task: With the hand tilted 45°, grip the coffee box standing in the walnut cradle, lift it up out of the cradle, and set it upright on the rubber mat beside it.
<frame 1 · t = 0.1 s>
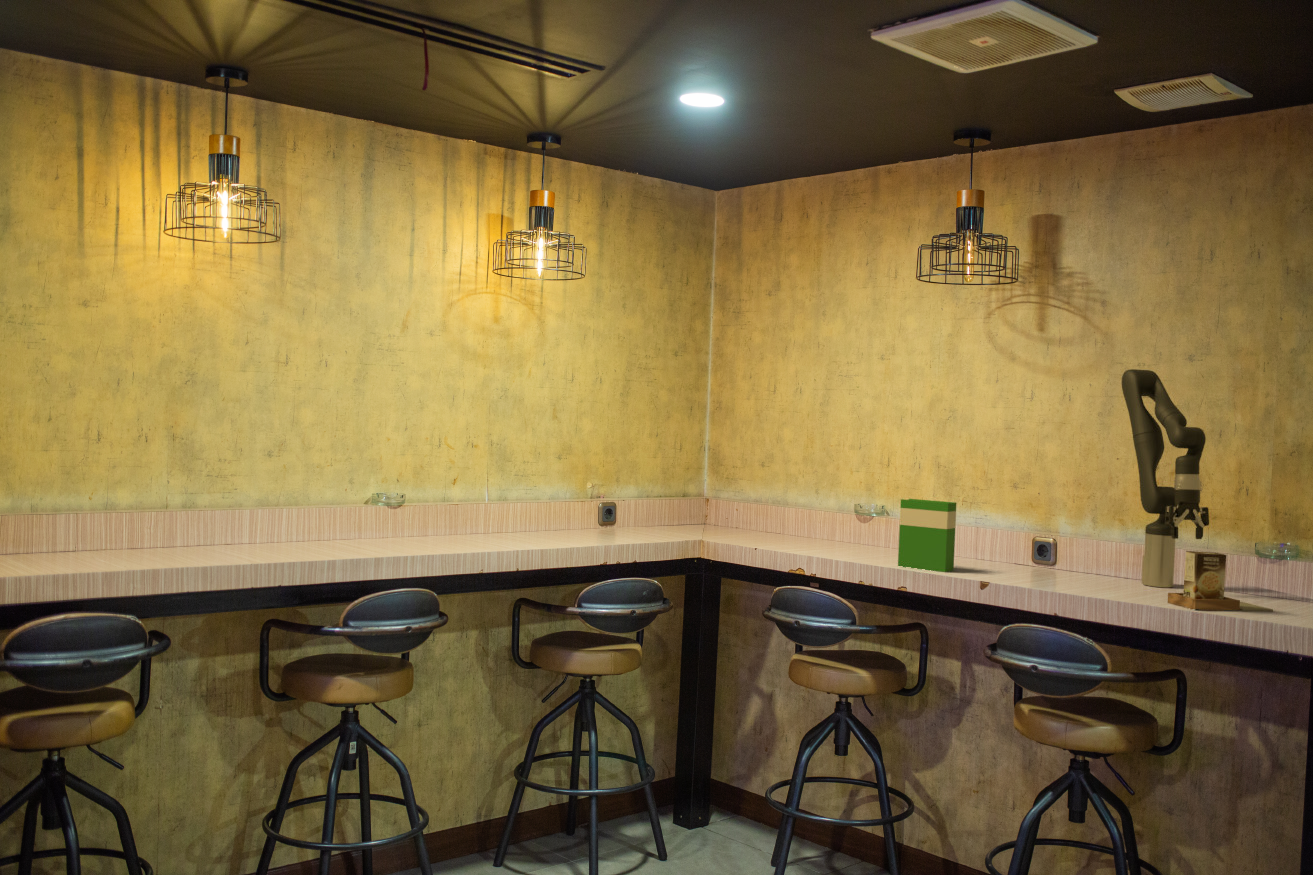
hand: (1186, 538, 345), 17 cm above the table, tool pointing down, fingers open, 8 cm apart
coffee box: (1202, 607, 317), resting in walnut cradle
rubber mat: (1242, 606, 319), on the table
walnut cradle: (1202, 606, 317), on the table
green cereal box: (925, 569, 380), on the table
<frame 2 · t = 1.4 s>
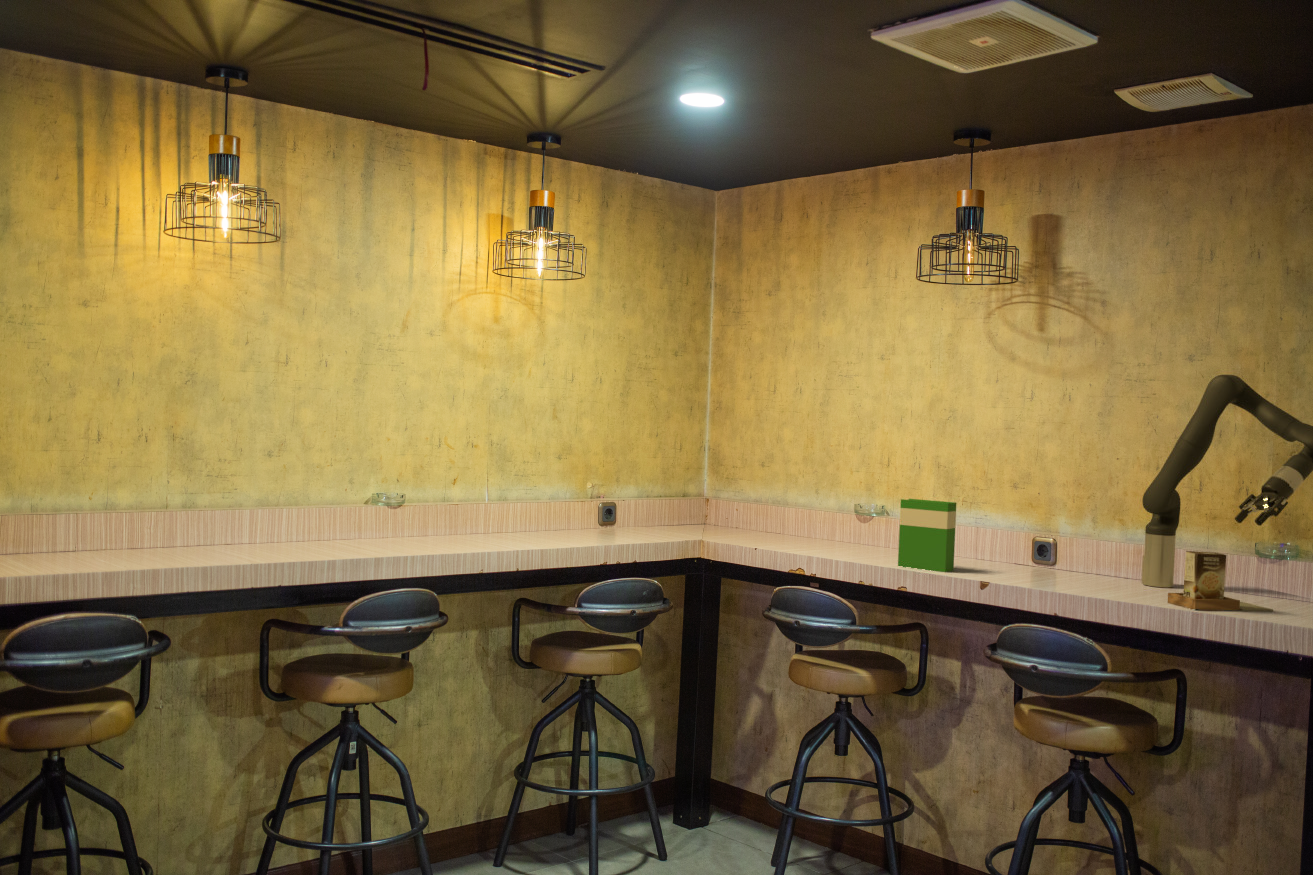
hand: (1247, 522, 319), 25 cm above the table, tool tilted 45°, fingers open, 8 cm apart
nothing on the table moved.
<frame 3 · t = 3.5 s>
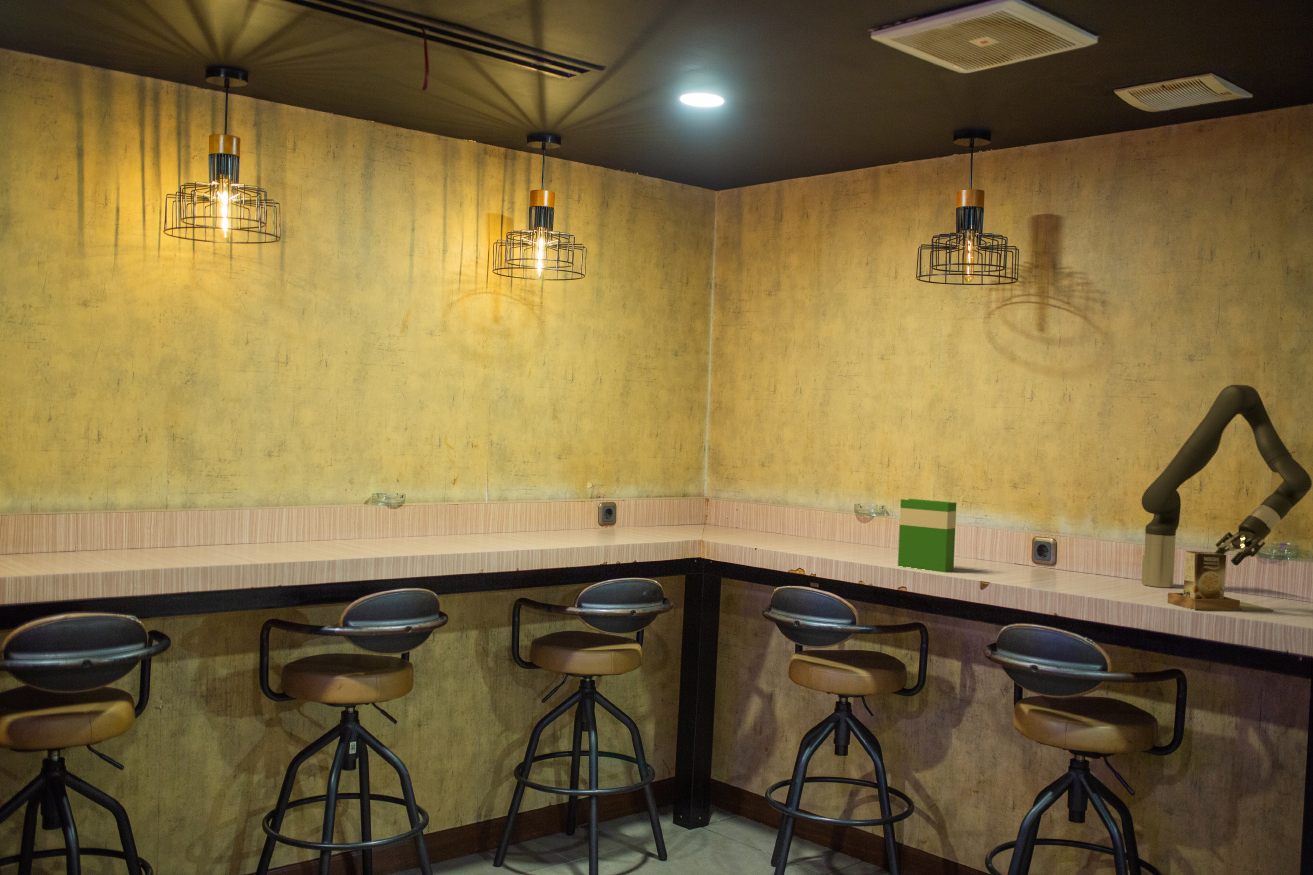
hand: (1223, 561, 317), 14 cm above the table, tool tilted 45°, fingers open, 8 cm apart
nothing on the table moved.
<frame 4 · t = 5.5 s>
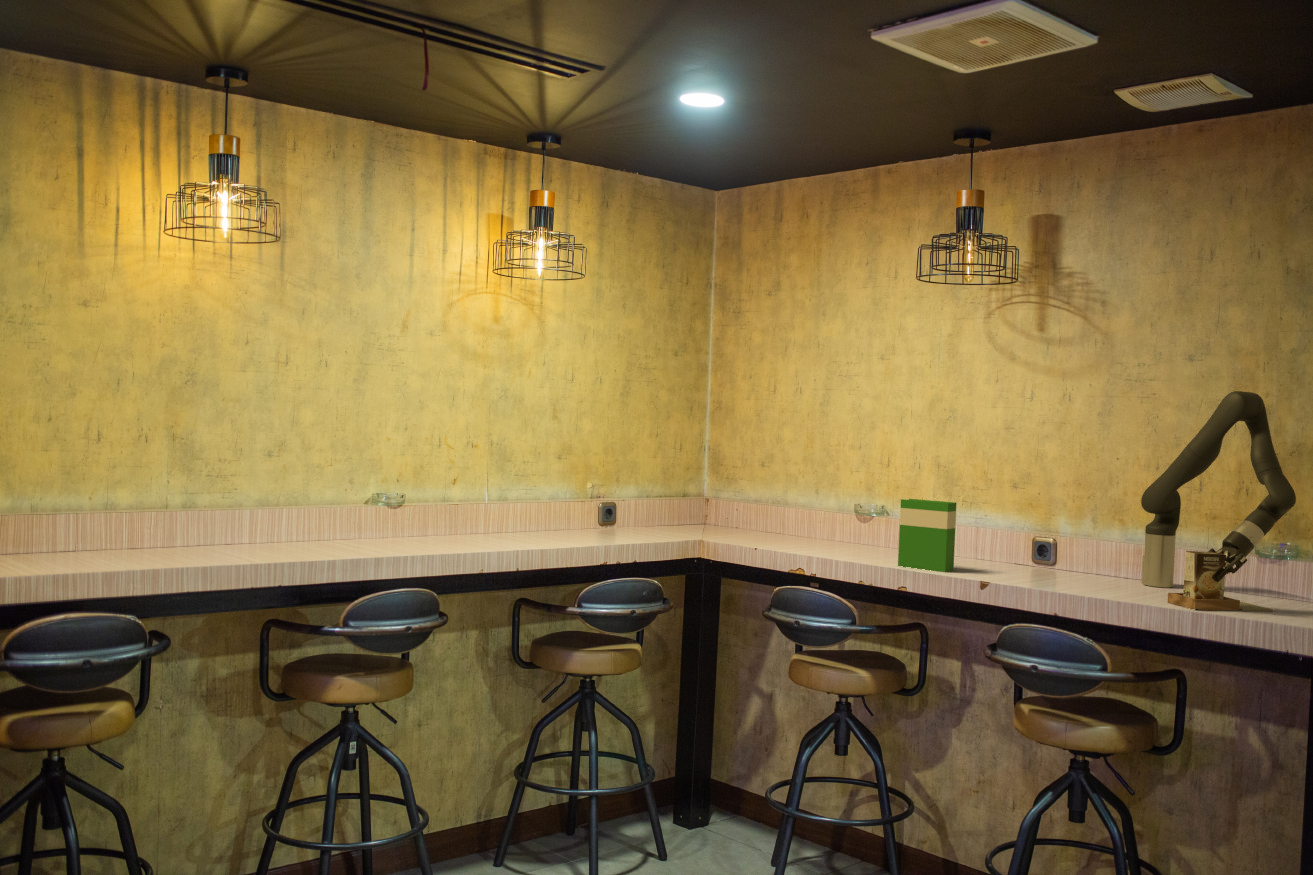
hand: (1206, 577, 317), 9 cm above the table, tool tilted 45°, fingers closed on coffee box, 7 cm apart
coffee box: (1202, 607, 317), resting in walnut cradle, touching gripper
everything else where it was.
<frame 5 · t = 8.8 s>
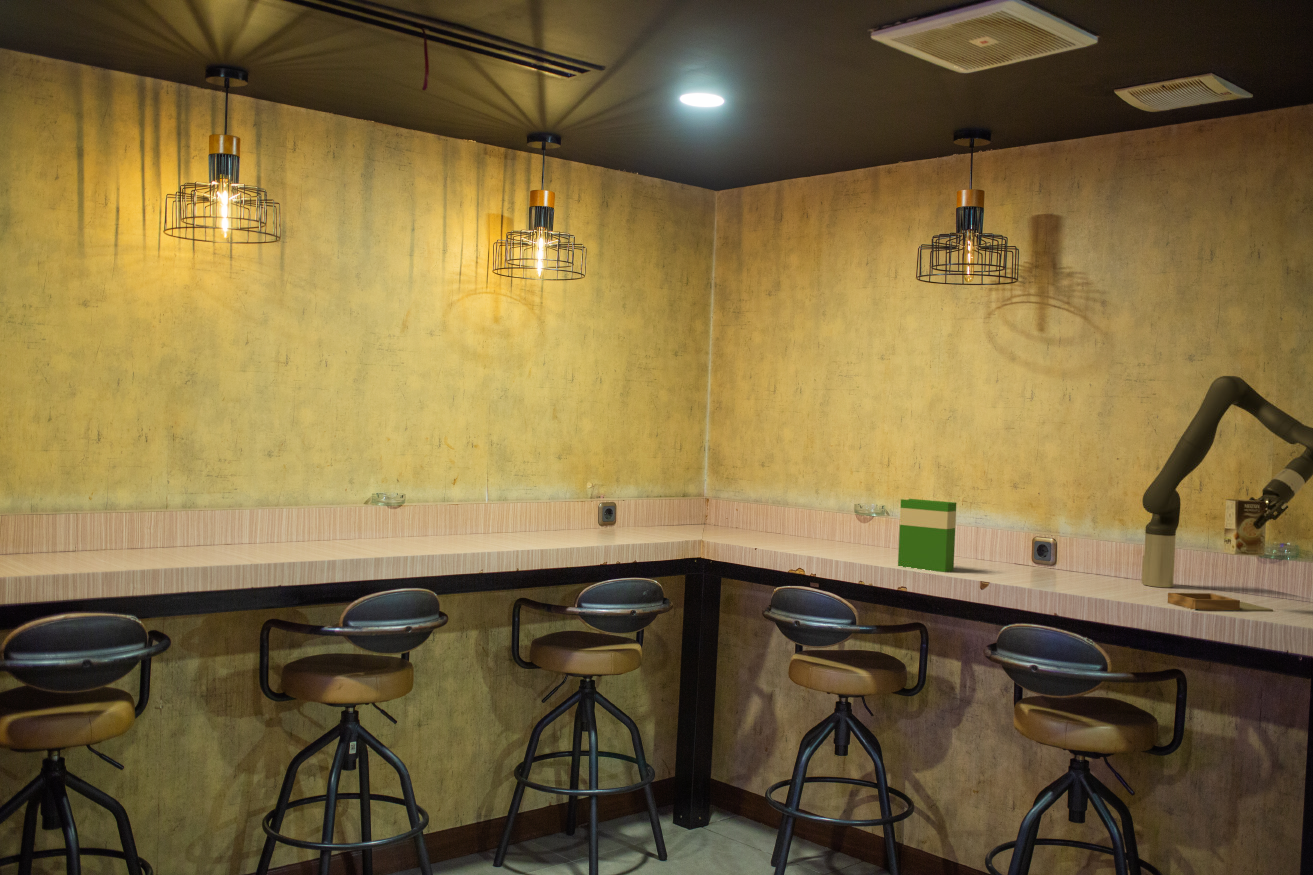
hand: (1247, 525, 319), 24 cm above the table, tool tilted 45°, fingers closed on coffee box, 7 cm apart
coffee box: (1243, 554, 319), point 16 cm above the table, touching gripper
everything else where it was.
when the fingers open (10 cm above the table, at t = 12.1 s): coffee box drops 1 cm, resting on rubber mat.
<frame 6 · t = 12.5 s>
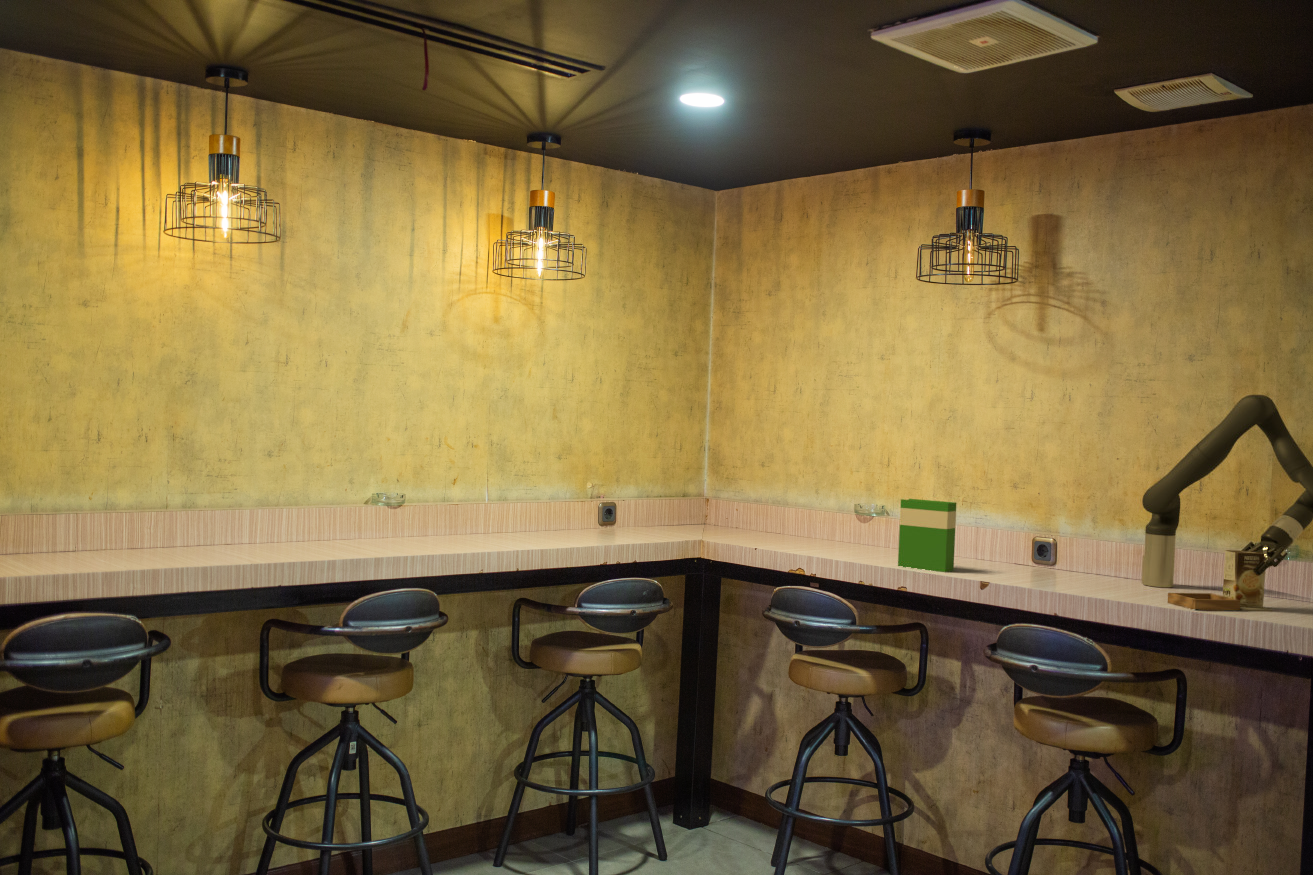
hand: (1245, 571, 319), 11 cm above the table, tool tilted 45°, fingers open, 8 cm apart
coffee box: (1242, 605, 319), resting on rubber mat
everything else where it was.
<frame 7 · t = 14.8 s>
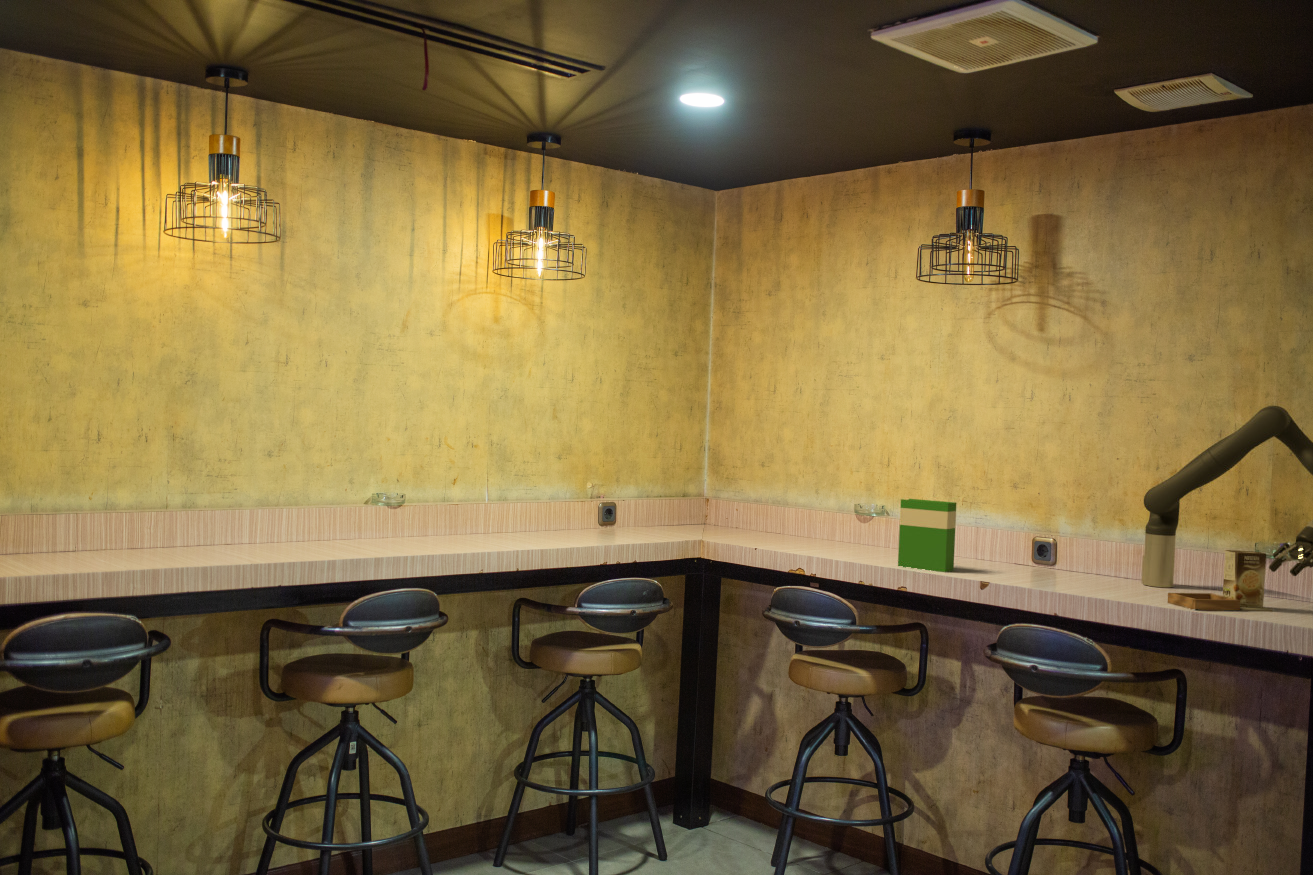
hand: (1281, 571, 321), 11 cm above the table, tool tilted 45°, fingers open, 8 cm apart
nothing on the table moved.
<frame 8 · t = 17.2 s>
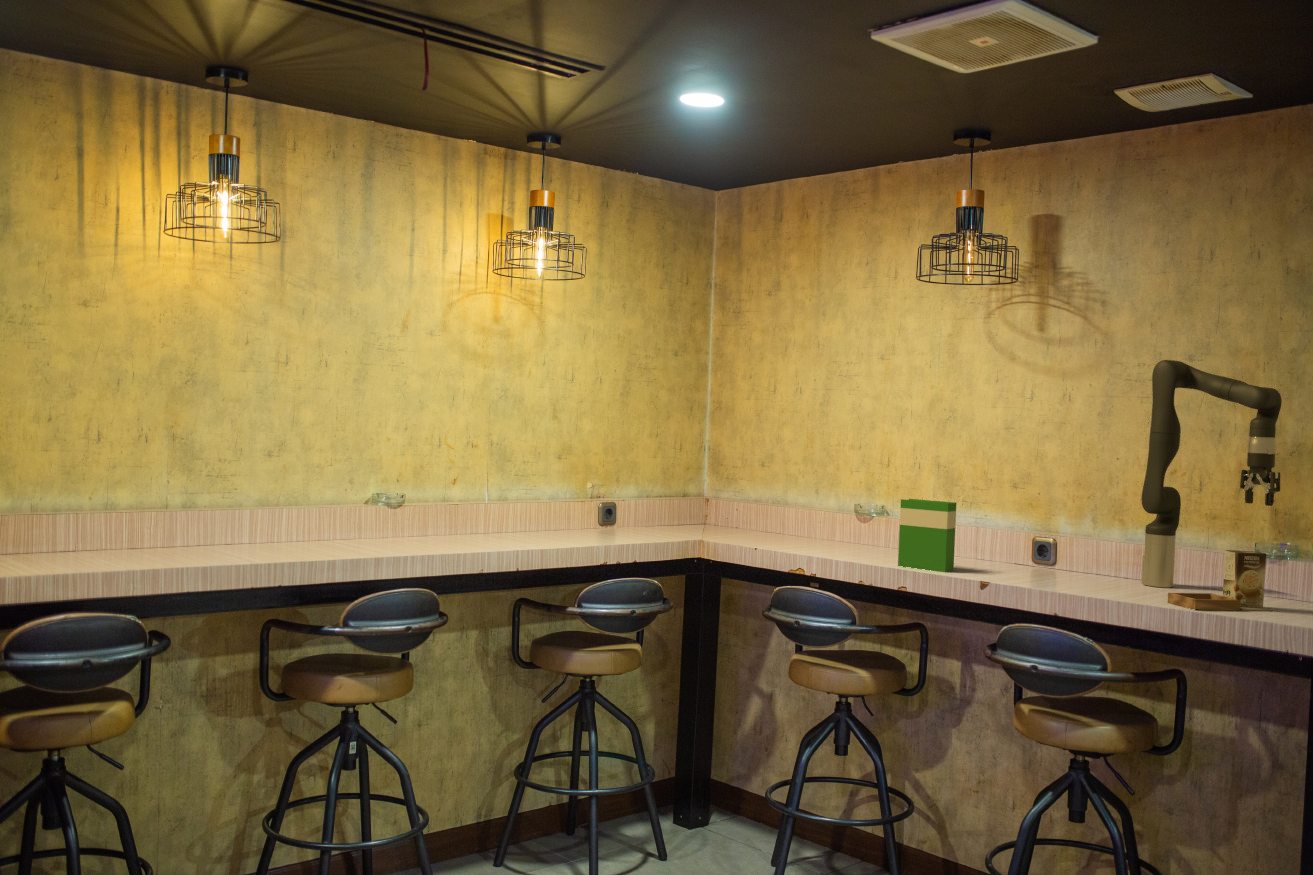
hand: (1258, 504, 330), 30 cm above the table, tool pointing down, fingers open, 8 cm apart
nothing on the table moved.
at the end: coffee box inside the target area on the rubber mat (0.2 cm from its centre), point 0.3 cm above the rubber mat's base; coffee box tilted 0°; the gripper is holding nothing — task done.
